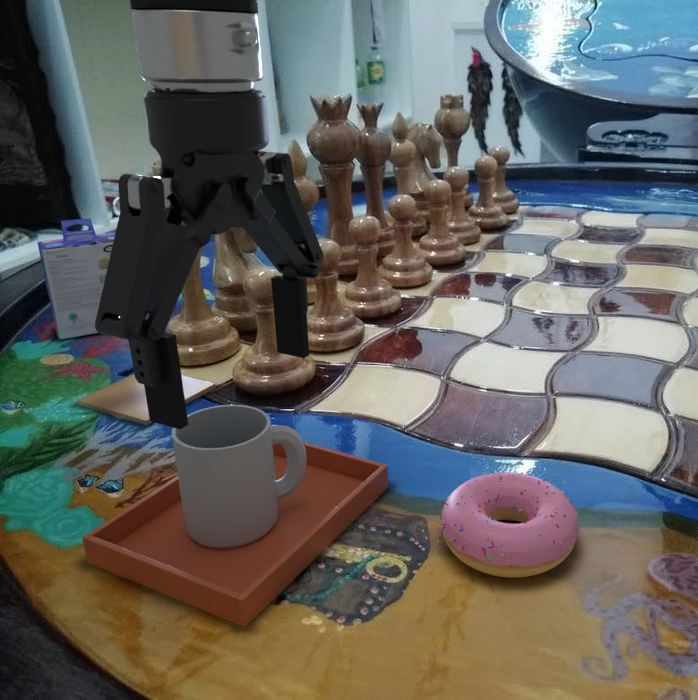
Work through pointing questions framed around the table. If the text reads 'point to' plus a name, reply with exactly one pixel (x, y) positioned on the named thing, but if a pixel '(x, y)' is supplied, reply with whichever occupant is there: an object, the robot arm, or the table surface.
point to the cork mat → (136, 398)
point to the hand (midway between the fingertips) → (237, 385)
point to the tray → (246, 561)
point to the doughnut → (509, 539)
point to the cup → (233, 473)
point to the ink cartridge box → (76, 276)
